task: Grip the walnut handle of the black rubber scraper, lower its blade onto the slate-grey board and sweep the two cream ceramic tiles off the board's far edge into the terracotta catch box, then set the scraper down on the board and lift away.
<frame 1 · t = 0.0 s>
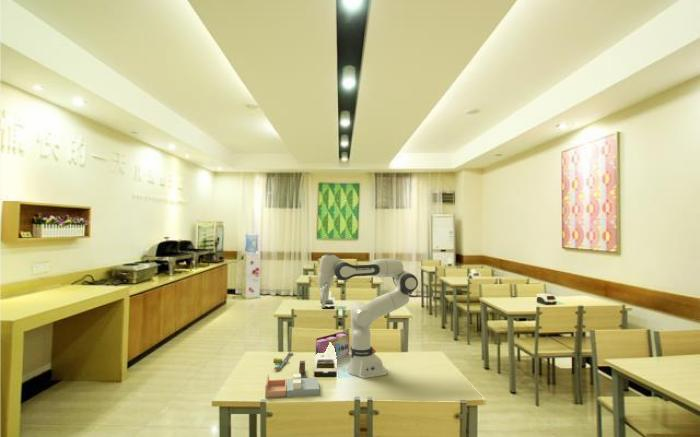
hand: (322, 305, 198), 39 cm above the table, tool pointing down, fingers open, 8 cm apart
catch box: (276, 391, 174), on the table
tile b: (296, 387, 172), point 3 cm above the table, touching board
tile a: (296, 381, 179), point 3 cm above the table, touching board
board: (302, 389, 176), on the table
flamethrower: (282, 362, 213), on the table
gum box: (332, 357, 222), on the table
scraper: (302, 377, 192), on the table
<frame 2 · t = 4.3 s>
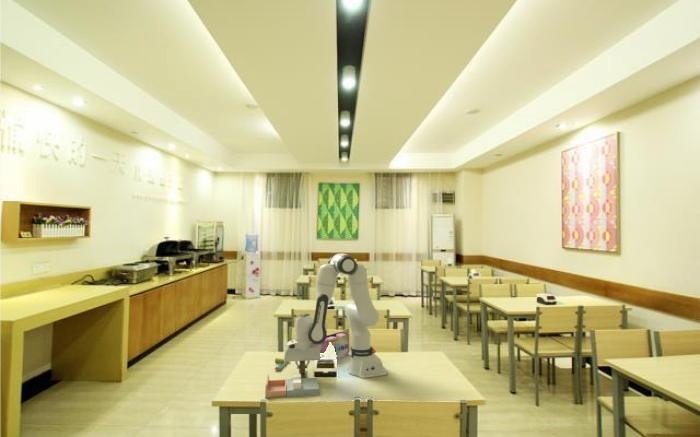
hand: (302, 368, 192), 5 cm above the table, tool pointing down, fingers closed on scraper, 3 cm apart
flamethrower: (283, 363, 212), on the table
scraper: (302, 376, 192), on the table, touching gripper
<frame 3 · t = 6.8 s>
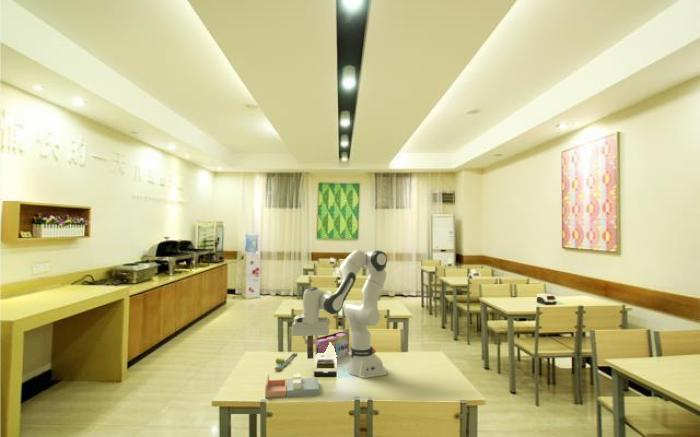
hand: (310, 343, 185), 21 cm above the table, tool pointing down, fingers closed on scraper, 3 cm apart
scraper: (310, 352, 185), point 16 cm above the table, touching gripper
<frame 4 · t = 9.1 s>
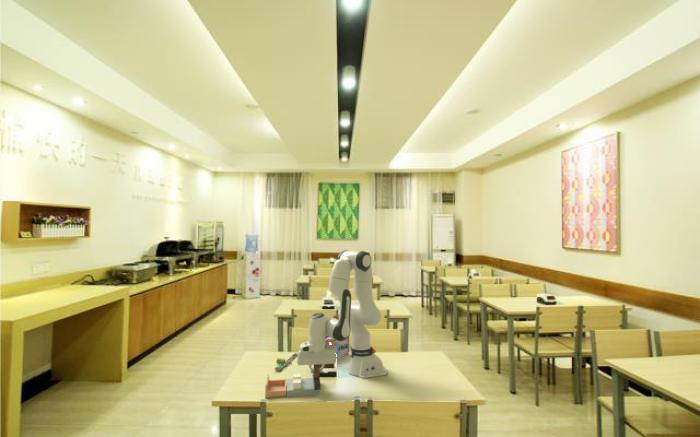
hand: (316, 372, 178), 8 cm above the table, tool pointing down, fingers closed on scraper, 3 cm apart
scraper: (316, 381, 177), point 4 cm above the table, touching gripper
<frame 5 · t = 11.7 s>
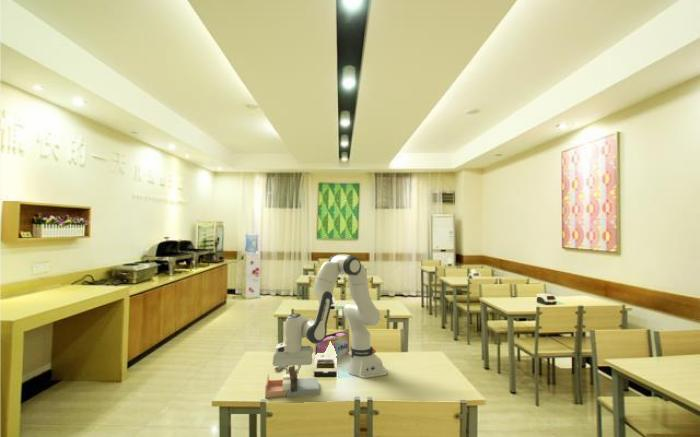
hand: (292, 373, 175), 9 cm above the table, tool pointing down, fingers closed on scraper, 3 cm apart
tile b: (286, 388, 171), point 3 cm above the table, touching catch box
tile a: (287, 381, 179), point 3 cm above the table
scraper: (294, 383, 175), point 3 cm above the table, tilted 12°, touching gripper
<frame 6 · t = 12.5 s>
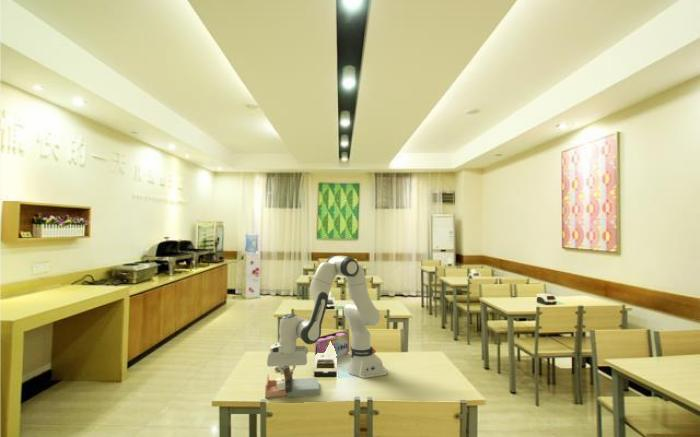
hand: (286, 373, 175), 8 cm above the table, tool pointing down, fingers closed on scraper, 3 cm apart
tile b: (281, 388, 170), point 3 cm above the table, tilted 10°, touching scraper
tile a: (281, 382, 178), point 2 cm above the table, tilted 90°, touching catch box
scraper: (289, 384, 175), point 3 cm above the table, tilted 13°, touching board, catch box, gripper, tile b
when the fingers open (9 cm above the table, at t = 14.3 s): scraper stays where it is, resting on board.
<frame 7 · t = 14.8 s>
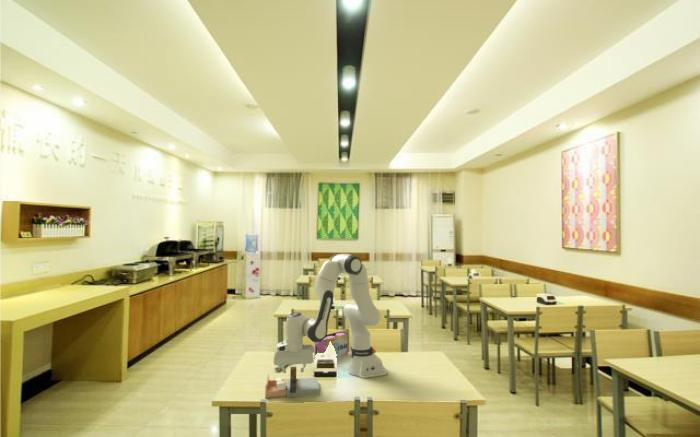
hand: (293, 372, 176), 9 cm above the table, tool pointing down, fingers open, 8 cm apart
tile b: (281, 388, 170), point 3 cm above the table, tilted 9°, touching catch box
scraper: (293, 384, 175), point 3 cm above the table, touching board
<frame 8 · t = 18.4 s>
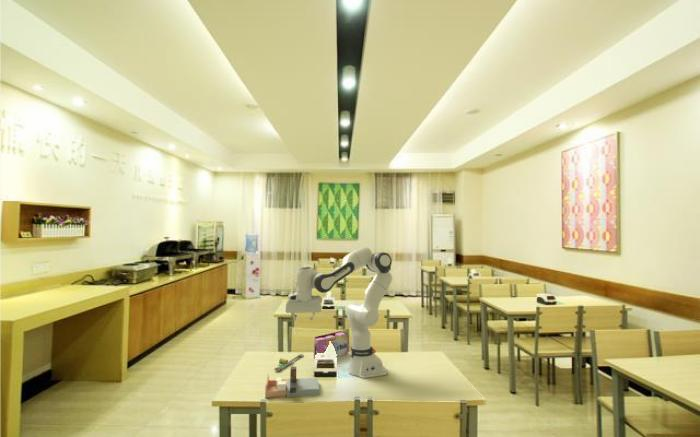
hand: (303, 320, 194), 31 cm above the table, tool pointing down, fingers open, 8 cm apart
tile b: (281, 388, 170), point 3 cm above the table, touching catch box
at the end: tile a inside the target area (4.5 cm from its centre), point 2.5 cm above the table; tile b inside the target area (5.1 cm from its centre), point 3.0 cm above the table; scraper tilted 0° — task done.
